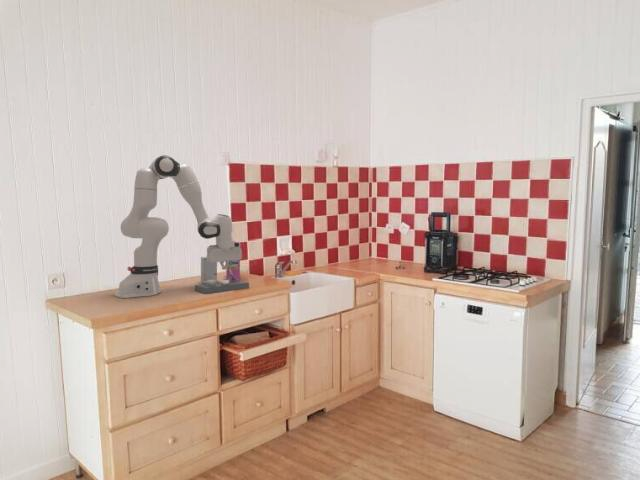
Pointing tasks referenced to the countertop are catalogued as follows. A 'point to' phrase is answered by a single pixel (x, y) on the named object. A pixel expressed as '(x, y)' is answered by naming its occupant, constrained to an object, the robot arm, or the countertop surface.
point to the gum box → (234, 270)
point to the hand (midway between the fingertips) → (224, 269)
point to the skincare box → (208, 270)
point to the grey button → (211, 282)
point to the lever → (230, 272)
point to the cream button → (224, 282)
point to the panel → (221, 286)
